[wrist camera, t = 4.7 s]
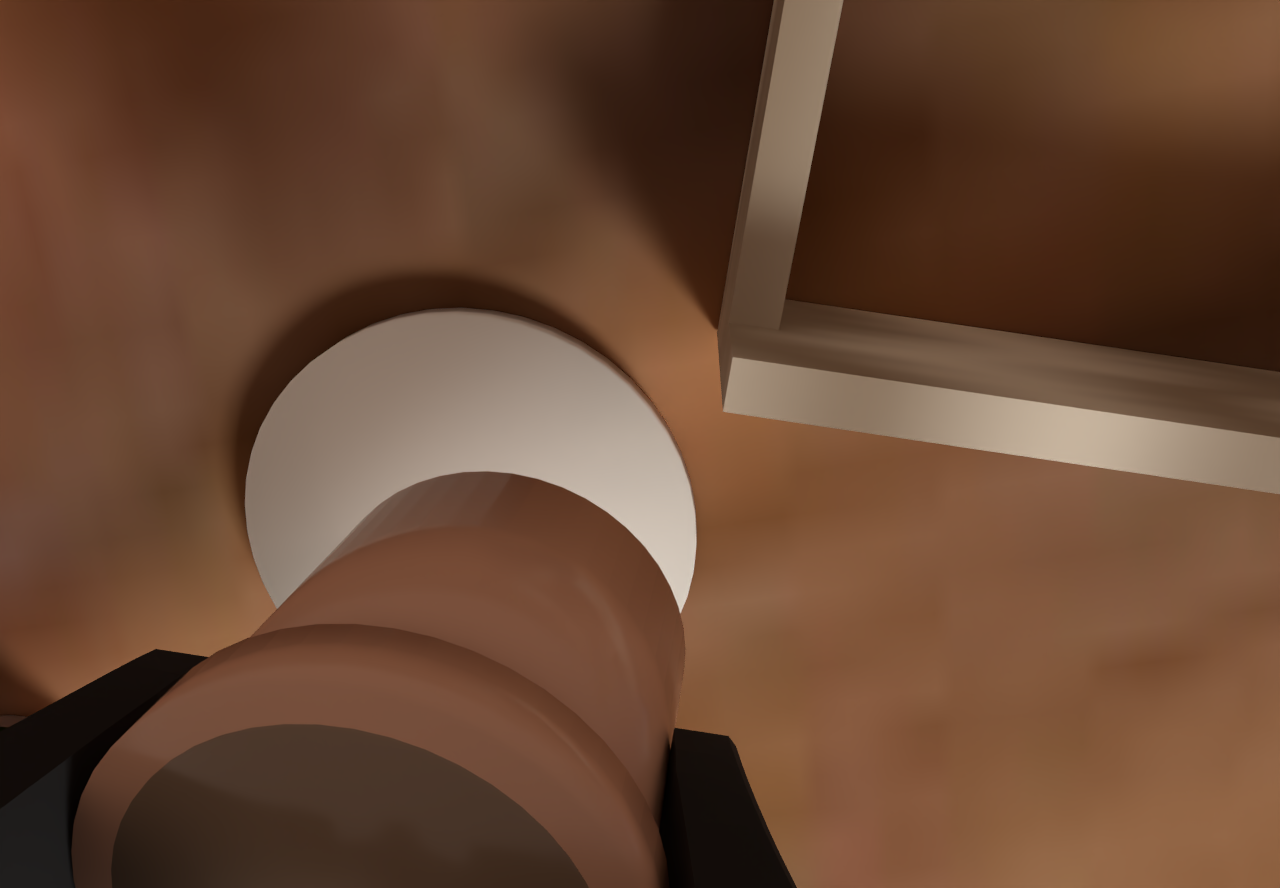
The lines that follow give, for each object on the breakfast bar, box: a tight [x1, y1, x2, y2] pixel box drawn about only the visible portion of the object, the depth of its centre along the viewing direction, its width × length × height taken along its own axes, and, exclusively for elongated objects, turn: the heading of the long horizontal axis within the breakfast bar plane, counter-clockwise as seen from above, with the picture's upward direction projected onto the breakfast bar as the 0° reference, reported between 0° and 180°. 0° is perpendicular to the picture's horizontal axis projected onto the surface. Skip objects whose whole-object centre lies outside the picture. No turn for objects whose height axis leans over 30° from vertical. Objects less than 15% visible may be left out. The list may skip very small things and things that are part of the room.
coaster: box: [245, 308, 696, 613], centre depth 19 cm, size 9×9×1 cm
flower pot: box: [71, 471, 685, 888], centre depth 10 cm, size 5×5×5 cm
